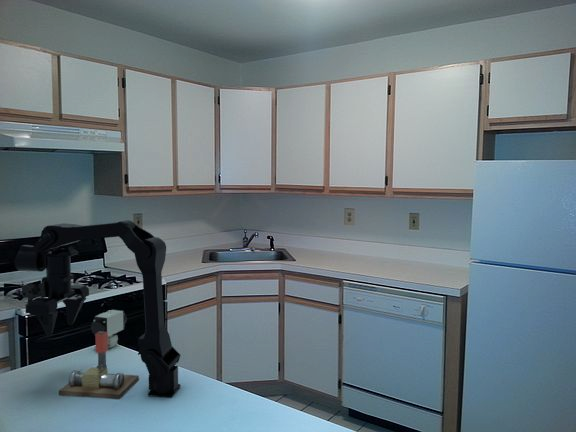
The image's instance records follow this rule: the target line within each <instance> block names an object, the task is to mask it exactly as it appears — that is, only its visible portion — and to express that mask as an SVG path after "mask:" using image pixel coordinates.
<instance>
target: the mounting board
mask: <svg viewBox="0 0 576 432" xmlns="http://www.w3.org/2000/svg"><path fill="white" fill-rule="evenodd" d="M82 373H84V371H83V372H82ZM109 374H110V375H116V374H117V373H109ZM124 377H125V379H124V384H123V386H122V387H120V388H119V389H114V387H101V388H100V389H99V390H95V389H83V388H82V385H75V386H70V385H69V382H68V383H67V384H65V385H64V386H63V387H62V388H60V389H59V390H58V395H59V396H69V397H79V398H80V397H84V398H85V397H86V398H96V399H98V398H99V399H112V400H113V399H115V400H120V399H121V398H122V397H123V396H124V395H125V394H126V393H127V392H128V391H129V390H130V389H131V388H133V386H134V385H135V384H136V383H138V381H139V380H140V378H139V375H133V374H124Z"/></svg>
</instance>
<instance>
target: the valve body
mask: <svg viewBox="0 0 576 432" xmlns="http://www.w3.org/2000/svg"><path fill="white" fill-rule="evenodd" d="M83 372H84V371H83ZM83 372H81V370H75V369H74V370H73V371H71V373H69V374H70V375H69V377H68V383H69V385H70V386H75V385H82V388H83V389H95V390H99V389H100V388H101V387H114V389H119V388H120V387H122V386H123V384H124V379H125V377H124V375H125V374H124V373H123V372H117V373H115V374H116V375H110V374H111V373H108V367H107V368H97V366H96V367H94V366H91V367H90V368H88V369H87V370H86V371H85V372H84V373H83Z"/></svg>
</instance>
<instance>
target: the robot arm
mask: <svg viewBox="0 0 576 432" xmlns="http://www.w3.org/2000/svg"><path fill="white" fill-rule="evenodd" d="M116 237H117V238H118V237H119V239H121V240H122V242H123V243H124V244H125V246H126V247H127V249H129V251H131V252H132V253H133V254H134V258H135V263H136V266H137V268H138V269H139V272H140V273H141V276H142V288H143V303H144V321H145V322H144V323H145V332H144V333H143V334H142V335H141V336H140V337H138V339H137V344H138V345H137V346H138V353H137V355H138V356H139V355H140V360H141V361H142V363H144V364H145V367H146V370H147V372H148V390H149V392H147V396H148V397H160V398H162V397H163V398H173V396H174V395H175V394H176V392H177V391H178V390H179V389H180V388H181V384H180V383H179V365H176V364H178V363H179V361H180V358H181V354H180V353H179V351H178V350H177V349H176V348H174V346H173V345H172V341H171V336H170V333H169V331H168V330H167V328H166V326H165V313H164V312H165V311H164V299H163V297H164V296H163V295H164V294H163V278H162V277H163V276H162V273H163V272H162V271H163V268H164V264H165V261H166V256H167V244H166V243H165V241H164V240H162V238H160V237H158V236H157V237H156V236H154V235H153V234H152V233H151V232H149V231H147V230H146V229H144V228H142V227H141V226H139V225H137V224H136V223H135V222H134V221H133V220H129V219H127V220H121V221H117V222H108V223H107V222H106V223H96V224H87V225H83V224H81V225H80V224H74V223H57V224H49V225H47V226H44V227H43V229H42V230H41V233H40V236H39V238H38V239H37V241H36V242H35V243H34V245H31V244H23V245H20V246H19V250H18V251H17V254H16V256H15V258H14V266H15V268H16V270H17V271H20V272H41V273H42V272H44V271H46V272H45V276H43V277H42V278H41V283H39V284H36V285H34V284H33V283H32V282H31V283H27V284H24V285H21V296H22V297H23V298H25V299H27V301H28V302H27V303H25V313H26V314H29V315H30V316H34V317H36V318H37V319H38V321H39V322H40V325H41V327H42V329H43V331H44V333H45V334H44V335H45V336H46V337H48V338H51V337H52V336H53V333H54V329H55V324H56V321H57V317H58V315H59V314H58V312H59V310H57V309H58V304H59V303H60V302H62V303H63V304H64V306H65V311H66V312H65V313H66V318H67V319H66V320H67V325H68V326H73V325H74V322H75V321H76V319H77V317H78V314H79V312H80V310H81V309H82V307H83V305H84V303H85V301H86V300H87V297H88V296H90V289H89V288H88V287H87V285H82V284H81V285H80V284H79V285H78V284H77V285H76V284H74V285H73V284H72V280H73V279H75V274H72V263H71V257H72V256H76V255H78V254H79V251H78V250H76V249H75V248H74V247H73V246H72V245H70V244H75V243H78V242H79V241H86V240H87V241H88V240H97V239H98V240H100V239H106V238H107V239H108V238H116ZM67 245H69V246H67ZM62 246H66V247H65V248H59V247H62ZM52 249H53V250H52ZM50 250H52V251H50ZM34 298H35V299H34Z"/></svg>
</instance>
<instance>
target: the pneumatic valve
mask: <svg viewBox="0 0 576 432" xmlns="http://www.w3.org/2000/svg"><path fill="white" fill-rule="evenodd" d="M127 320H128V317H127V315H126V313H125V310H122V309H121V310H120V309H119V310H118V309H111V310H110V309H109V310H107V311H106V312H102V313H99V314H97V315H95V316H93V322H92V323H91V326H90V328H91V332H92V334H93V336H94V337H95V334H96V333H98V332H100V331H102V332H108V349H112V348H114V347H116V346H118V340H119V337H118V336H119V335H118V334H117V333H119V332H121V331H123V330H125V326H126V325H125V324H126V323H127Z"/></svg>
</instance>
